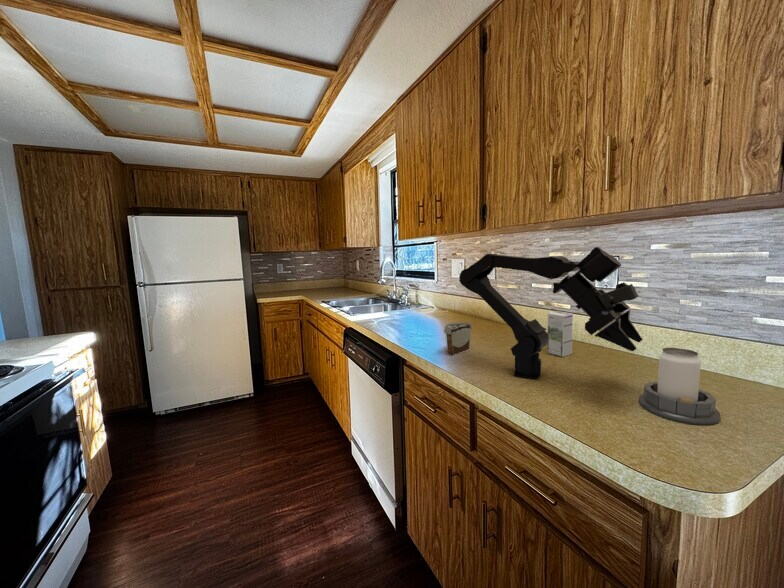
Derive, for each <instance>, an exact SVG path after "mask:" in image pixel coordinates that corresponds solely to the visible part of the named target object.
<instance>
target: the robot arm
mask: <svg viewBox="0 0 784 588" xmlns="http://www.w3.org/2000/svg"><path fill="white" fill-rule="evenodd" d="M621 266H622V263H621V262H620V261H619V260H618V259H617V258H616V257H615V256H613V255H612V254H609V253H608V252H606V251H604V250H603V249H602V248H601V247H599V246H595V247H594V248H592V250H591V251H590V252H589V254H587V255H586V256H585V257H584V258H583V259H581V260H580V261H578V260H577V261H571V260H569V258H568V257H566V256H563V255H562V256H561V255H560V256H559V255H558V256H544V257H526V256H525V257H524V256H514V255H513V256H512V255H503V254H497V253H485V255H484V256H483V257H481V258H480V259H479V260H477V261H475V262H474V263H472V264H471V265H470V266H468V267H467V268H465V269H462V271H460V273H459V278H458V279H459V280H458V281H459V283H460V285H461V286H462V287H464V288H465V289H467V290H468V291H470V292H472V293H474V294H477V295H478V296H479V297H480V298H481V299H483V300H484V302H485V303H486V304H487V305H488V306H489V307H490V308H491V309H492V310H493V311H494V312H495V313H496V314H497V315H498V316H499V318H501V319H502V320H503V322H505V324H506V325H507V326H508V327H509V328H510V329H511V330H512V333H513V335H514V339H515V340H516V341H517V343H516V344H514V345H513V346H512V347H511V348H510V351H511V353H512V356H514V371H513V377H518V378H519V377H520V378H525V379H532V380H533V379H534V380H539V378H540V377H539V376H541V375H542V358H540V352H541V351H542V349H543V348H544V347H547V344H548V341H549V336H548V331H547V328H546V327H543V326H542V325H541V324H540V323H539V321H538V320H537V319H532V320H528V319H526V318H525V317H524V316H523V315H521V314H520V313H519V312H518V310H516V309H515V307H513V306H512V305H511V304H510V302H508V301H507V299H505V298H504V297H503V295H501V293H500V292H498V291H497V290H496V289H495V288H494V287H493V286H492V285H491V281H490V279H489V275H490V274H491V273H492V272H493V270H494V269H495V268H498V269H499V268H500V269H505V270H506V269H508V270H513V271H514V270H515V271H522V272H530V273H532V274H534V275H537V276H539V277H543V278H546V279H550V280H555V279H560V278H563V279H562V280H560V281H559V282H553V283H552V285H553V288H552V293H553V294H558V293H560V292H562V291H563V292H564V293H565V295H567V296H568V297H569V298H570V299H571V300H572V302H574V303H575V304H576V305H575V308H577V310H580V309H581V310H582V311H583V312H584V313H585V314H586V315H587V316H588V317H589V318H588V321H586V322H584V330H585V331H587V333H588V334H589V335H590V336H593V335H594V337H596V338H599V339H602V340H605V341H608V342H610V343H612V344H613V345H616V346H619V347H621V348H623V349H625V350H627V351H630V352H634V351H635V350H637V347H636V346H635V343H633V341H635V342H637V343H641V342H642V341H643V338H642V337H641V335H640V333H639V332H638V330H637V329H636V327H635V326H634V324H633V323H632V321H631V320H630V318H631V317H630V315H631V309H629V308H630V306H629V305H628V304H627V303H626V301H629V302H630V301H631V300H632V301H633V300H635V299H637V298H638V297H639V295H638V293H637V291H636V287H635V286H634V285H633V283H632V284H628V283H626V282H621V283H618V284H615V289H612V290H610V291H608V292H607V291H605V290H603V289H601V288H600V289H598V288H596V286H594V285H593V284H592V283H594V282H599V283H601V282H602V281H604V280H606V278H608V277H609V276H610V275H611V274H613V273H614V272H615V271H617V270H618V269H619V268H621ZM576 271H577V272H576ZM571 272H575V273H574V274H573V275H572V276H571V275H569V273H571ZM591 282H592V283H591ZM625 311H626V312H625ZM595 333H596V334H595ZM632 340H633V341H632Z"/></svg>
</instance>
